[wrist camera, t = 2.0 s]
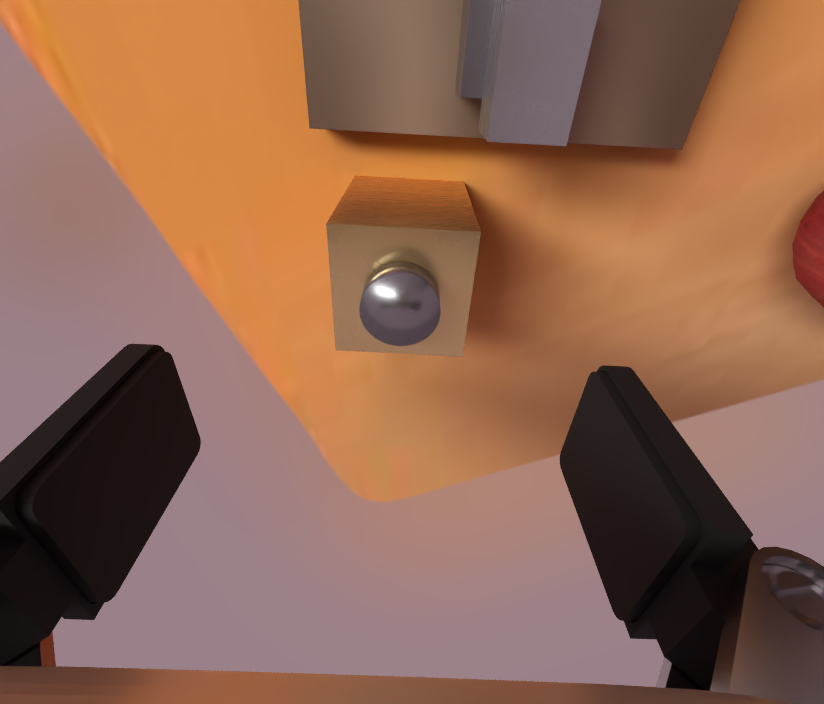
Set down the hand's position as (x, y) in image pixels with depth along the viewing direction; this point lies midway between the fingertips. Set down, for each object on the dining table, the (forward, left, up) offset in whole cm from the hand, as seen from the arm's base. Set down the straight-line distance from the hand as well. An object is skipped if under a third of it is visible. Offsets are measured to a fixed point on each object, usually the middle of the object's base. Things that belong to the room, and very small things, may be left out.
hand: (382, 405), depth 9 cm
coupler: (0, -1, -11) cm, 11 cm away
